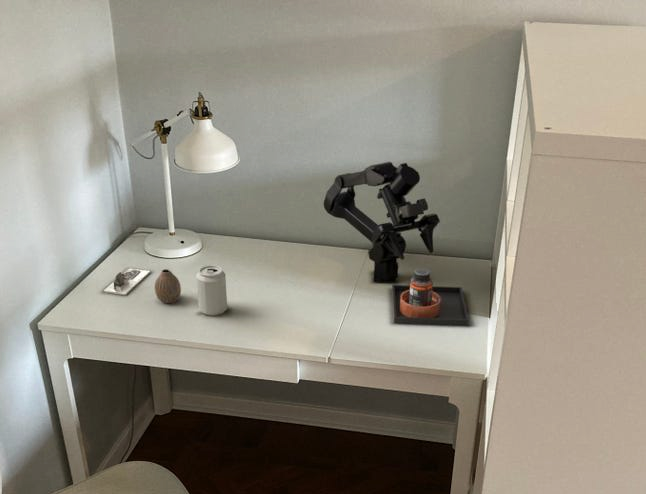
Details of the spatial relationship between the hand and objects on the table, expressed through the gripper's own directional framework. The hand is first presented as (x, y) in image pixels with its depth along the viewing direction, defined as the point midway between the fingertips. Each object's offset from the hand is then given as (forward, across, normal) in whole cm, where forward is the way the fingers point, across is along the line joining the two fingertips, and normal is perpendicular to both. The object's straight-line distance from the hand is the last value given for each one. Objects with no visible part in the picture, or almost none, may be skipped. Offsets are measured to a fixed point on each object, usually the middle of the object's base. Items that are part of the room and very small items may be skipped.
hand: (417, 255), depth 212 cm
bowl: (+13, -2, +6) cm, 15 cm away
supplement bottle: (+13, -2, +6) cm, 15 cm away
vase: (-14, -60, +29) cm, 68 cm away
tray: (+13, +1, +6) cm, 14 cm away
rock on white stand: (-25, -67, +40) cm, 82 cm away
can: (-5, -52, +22) cm, 56 cm away
